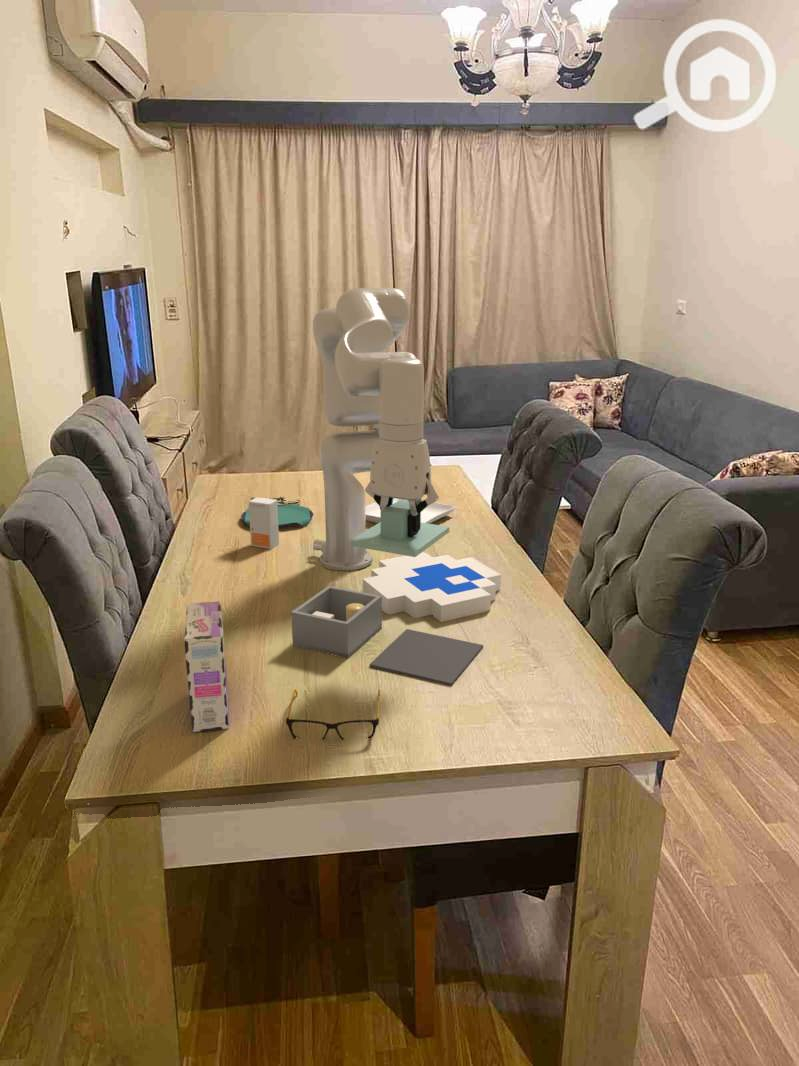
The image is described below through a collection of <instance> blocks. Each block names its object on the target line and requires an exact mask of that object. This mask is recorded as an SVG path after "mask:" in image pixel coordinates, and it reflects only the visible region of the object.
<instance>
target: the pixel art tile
mask: <svg viewBox="0 0 799 1066" xmlns="http://www.w3.org/2000/svg"><path fill="white" fill-rule="evenodd" d="M501 577H502V574H501V573H499V572H497V570H496V571H495V570H494V569H492V568H490V567H489V566H487V565H485V564H483V563H482V562H481V561H479V560H477V559H476V558H474V557H466V558H462V559H455V558H454V557H452V556H451V555H450V554H444V555H440V556H434V557H433V556H431V555H430V554H428V553H427V552H424V551H423V552H422V553H420V554H419V555H418V556H416V557H411V556H406V555H400V556H397V557H391V558H386V559H381V560H378V567H377V568H372V569H370V577H369V576H368V577H365V578H362V592H363V593H368V594H373V595H378V596H382V612H383V613H385V614H386V613H387V614H390V615H394V614H398V612H399V613H403V612H405V611H406V612H405V613H407V614H408V615H409V614H410V615H409V616H410V617H412V618H413V619H418V618H422V616H423V617H426V616H432V615H433V616H432V617H433V618H435V619H437V620H438V621H439V622H440V623H442V622H446V621H452V620H456V619H459V618H464V617H468V616H472V615H477V614H481V613H485V612H489V611H491V603H492V601H496V597H497V596H496V594H497V593H496V592H497V591H498V592H499V591H501V580H502V578H501ZM387 614H386V615H387Z"/></svg>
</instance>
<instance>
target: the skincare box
mask: <svg viewBox="0 0 799 1066" xmlns="http://www.w3.org/2000/svg"><path fill="white" fill-rule="evenodd" d="M254 498H255V499H253V500H251V499H250V500H248V509H249V515H250V526H249V531H250V532H249V533H250V546H251V547H258V548H261V549H269V550H272V549H274V548H275V547H277V546H278V545H280V538H279V537H280V535H279V527H278V508H277V505H278V503H277V502H278V500H274V499H268V498H269V497H267V498H266V497H258V496H256V497H254Z"/></svg>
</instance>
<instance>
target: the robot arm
mask: <svg viewBox="0 0 799 1066" xmlns="http://www.w3.org/2000/svg"><path fill="white" fill-rule="evenodd" d="M410 311H411V308H410V303H409V301H408V299H407V296H406V295H405V293H404V292H403V291H401V290H400V289H398V288H394V287H362V288H361V287H359V288H353V289H348V290H346V291H345V292H344V293H342V294H341V295H340V296H339V298H338V299H337V302H336V306H335V307H330V308H329V307H328V308H324V309H321V310H319V311H317V312H316V313H315V315H314V317H313V320H312V331H313V338H314V341H315V345H316V348H317V350H318V353H319V356H320V358H321V362H322V366H323V397H324V400H323V401H324V411H325V412H324V414H325V418H326V421H327V422H328V423H329V425H331V426H334V427H344V428H345V427H348V428H349V427H363V426H364V427H366V426H372V428H373V429H371V430H370V429H369V430H353V431H352V430H350V431H348V430H347V431H338V432H332V433H329V434H327V435H325V436H324V437H322V439H321V440H320V442H319V448H318V449H319V451H318V452H319V459H320V462H321V469H322V477H323V486H324V488H323V489H324V514H325V518H324V519H325V522H324V523H325V540H323V539H318V538H315V539H314V541H313V546H312V548H313V550H315V551H320V552H322V554H321V555H320V557H319V563H320V564H321V566H324V567H325V568H326V569H330V570H334V571H355V570H361V569H364V568H366V567H368V566H370V565H371V564H372V563H373V554H372V553H370V552H369V551H367V549H366V548H360V547H354V546H350V540H351V539H353V538H355V537H356V536H358V535H360V534H361V533H363V532H365V531H366V530H367V528H366V527H367V525H366V523H367V522H366V521H367V520H366V513H365V506H366V494H368V495H369V496H370V497H371V498H373V500H374V502H376V503H377V504H378V505H379V506H380V510H381V511H382V510H384V509H385V508H387V507H389V506H390V505H392V504H393V499H394V498H397V499H404V500H408V501H409V507H410V515H408V537H413V536H414V535H415V534H417V533H418V531H419V530H420V512H422V511H423V510H424V509H425V508H426V507H427V506H429V505H430V504H432V503H434V502H436V503H437V502H438V501H439V498H440V497H439V495H438V493H437V492H436V489H435V487H433V484H432V469H431V467H432V466H431V458H430V452H429V446H428V442H427V439H424V412H425V409H424V408H425V407H424V405H425V404H424V403H425V401H424V399H425V398H424V397H425V395H424V394H425V367H424V364H423V362H422V360H420V359H418V358H417V356H416V355H415V354H413V353H412V352H408V351H390V352H388V351H387V350H388V349H389V348H390V346H392V345H393V344H394V343H395V342H396V341H397V340H398V338H399V337H400V336H401V335H402V334H403V333H404V331H405V330H406V328H407V327H408V325H409V322H410V321H409V320H410V316H411V312H410ZM368 472H369V473H370V477H369V482H368V484H367V486H366V487H365V488H364V485H362V483H361V482H360V481H359V480H358V479H357V478H356V476H355V474H360V473H368ZM424 496H426V498H425V499H422V497H424ZM422 500H423V501H422Z"/></svg>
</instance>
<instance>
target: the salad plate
mask: <svg viewBox="0 0 799 1066" xmlns="http://www.w3.org/2000/svg"><path fill="white" fill-rule="evenodd" d="M399 500H404V499H397V498H394V499H393V504H394V503H396V502H397V501H399ZM423 500H424V499H422V501H423ZM455 509H456V506H454V505H452V504H451V505H449V504H446V503H441V502H437V501H436V502H434V503H432V504H430V505H429V506H427V507H426V508H425V509H424V510H423V511H422V512H421V523H428V524H433V523H434V522H436V521H438V520H441V518H444V517H446V516H448V515H449V514H451V513H452V512H454V511H455ZM380 511H381V510H380V506H379V505H378V504H377V503H376V501H374V502H372V503H370V504H368V505H365V513H366V521H368V522H371V523H372V524H376V523H380V522H381V514H380Z"/></svg>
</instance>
